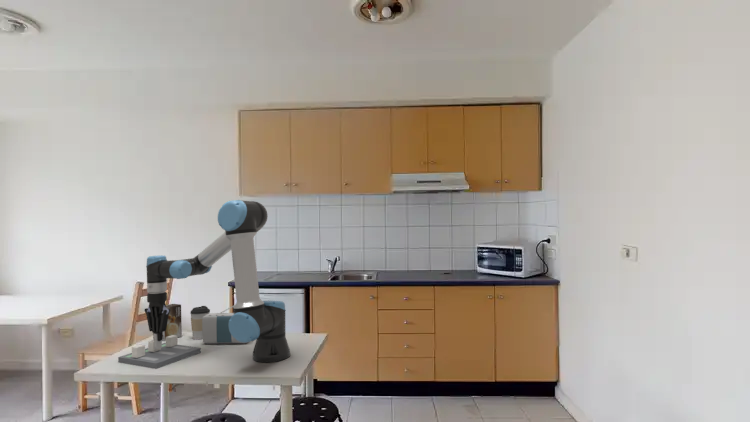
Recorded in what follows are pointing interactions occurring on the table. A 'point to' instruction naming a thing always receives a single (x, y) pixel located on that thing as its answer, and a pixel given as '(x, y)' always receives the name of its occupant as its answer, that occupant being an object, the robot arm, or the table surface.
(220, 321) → the stereo radio cassette player
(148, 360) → the breaker panel
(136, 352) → the block
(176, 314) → the coffee box
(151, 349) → the block
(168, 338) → the breaker handle
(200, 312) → the coffee cup
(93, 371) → the table surface
